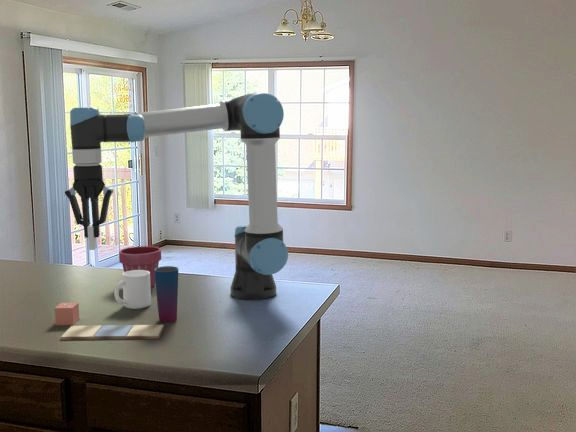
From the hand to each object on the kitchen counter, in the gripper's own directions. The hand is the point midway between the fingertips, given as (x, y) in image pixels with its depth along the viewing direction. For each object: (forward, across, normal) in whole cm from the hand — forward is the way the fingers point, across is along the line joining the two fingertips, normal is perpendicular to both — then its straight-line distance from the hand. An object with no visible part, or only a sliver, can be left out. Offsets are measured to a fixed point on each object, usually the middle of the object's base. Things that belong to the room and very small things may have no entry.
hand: (92, 248), depth 172 cm
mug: (+22, -7, -14) cm, 27 cm away
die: (+21, +8, 0) cm, 23 cm away
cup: (+22, -20, -1) cm, 29 cm away
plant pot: (+22, -5, -38) cm, 44 cm away
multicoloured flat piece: (+21, -7, +10) cm, 25 cm away
